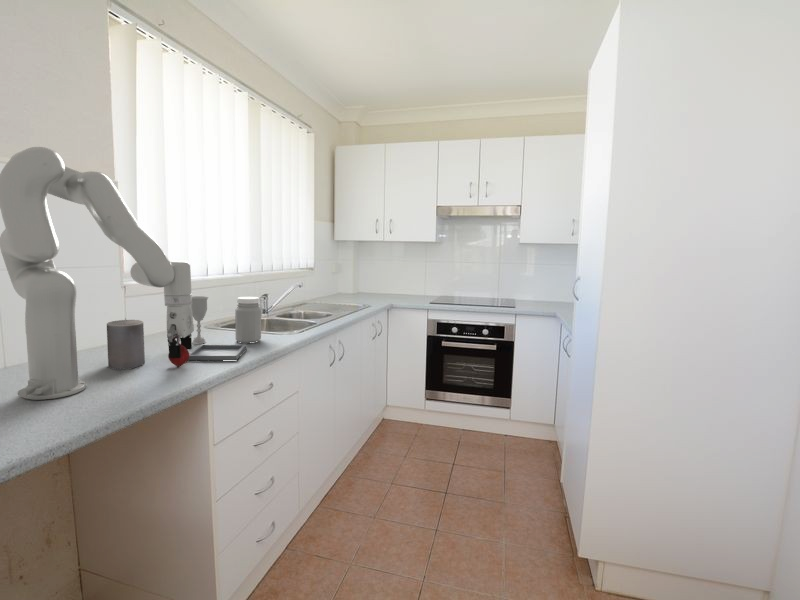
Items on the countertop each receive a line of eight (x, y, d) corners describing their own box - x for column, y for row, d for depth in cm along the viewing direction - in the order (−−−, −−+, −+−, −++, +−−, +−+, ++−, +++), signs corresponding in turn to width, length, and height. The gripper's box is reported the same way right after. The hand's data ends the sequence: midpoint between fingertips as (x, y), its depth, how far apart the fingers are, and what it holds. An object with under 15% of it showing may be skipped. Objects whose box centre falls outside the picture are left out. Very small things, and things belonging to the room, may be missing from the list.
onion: (193, 364, 133) (192, 340, 132) (182, 370, 127) (181, 344, 126) (176, 363, 133) (175, 339, 132) (164, 368, 128) (163, 343, 127)
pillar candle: (111, 362, 132) (109, 316, 130) (146, 359, 136) (145, 315, 134) (105, 371, 123) (102, 322, 121) (143, 368, 128) (141, 320, 126)
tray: (236, 361, 139) (236, 355, 139) (185, 361, 136) (185, 355, 136) (246, 349, 154) (246, 344, 154) (201, 349, 152) (201, 344, 152)
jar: (261, 343, 165) (261, 299, 163) (235, 344, 162) (235, 299, 159) (260, 338, 174) (260, 296, 172) (235, 339, 170) (235, 296, 168)
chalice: (184, 343, 160) (183, 297, 158) (198, 339, 166) (197, 295, 164) (200, 345, 158) (199, 299, 155) (213, 341, 164) (212, 297, 162)
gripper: (181, 304, 120) (184, 361, 122) (200, 296, 137) (202, 346, 139) (153, 304, 119) (156, 361, 121) (175, 296, 136) (178, 346, 138)
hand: (181, 353), depth 130 cm, fingers open, 9 cm apart
